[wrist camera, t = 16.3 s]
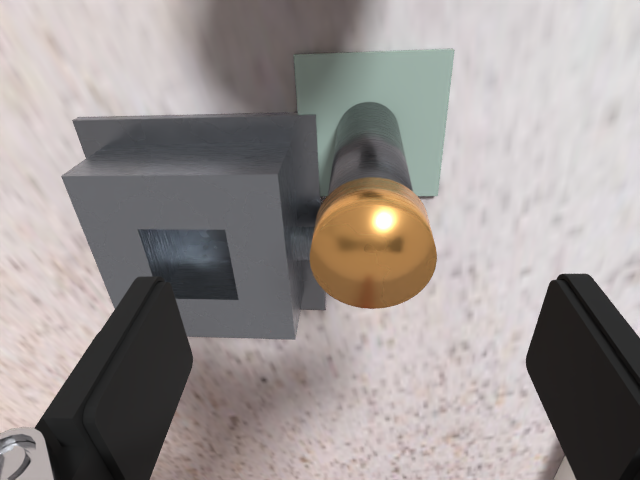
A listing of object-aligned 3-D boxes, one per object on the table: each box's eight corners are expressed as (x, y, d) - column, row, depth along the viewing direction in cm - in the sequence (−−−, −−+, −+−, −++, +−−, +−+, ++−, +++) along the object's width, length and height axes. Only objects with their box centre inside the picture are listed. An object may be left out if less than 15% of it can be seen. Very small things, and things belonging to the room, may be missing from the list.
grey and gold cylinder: (330, 96, 23) (305, 206, 13) (407, 95, 22) (443, 206, 12) (332, 166, 25) (313, 307, 15) (402, 166, 24) (430, 309, 14)
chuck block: (142, 300, 32) (110, 350, 28) (78, 117, 25) (20, 147, 21) (402, 305, 31) (409, 360, 26) (417, 109, 23) (430, 141, 19)
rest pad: (304, 193, 26) (303, 196, 26) (294, 54, 22) (293, 55, 22) (436, 192, 26) (437, 196, 25) (452, 48, 21) (454, 49, 21)
